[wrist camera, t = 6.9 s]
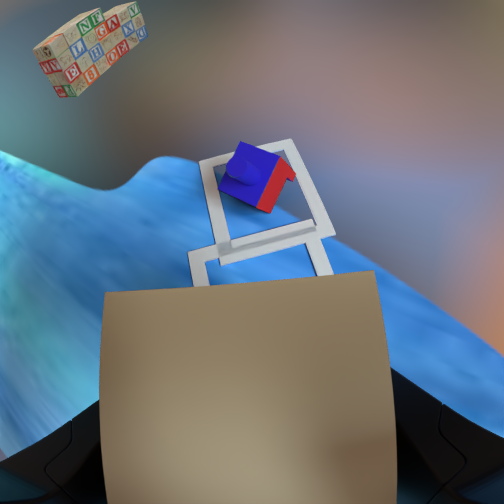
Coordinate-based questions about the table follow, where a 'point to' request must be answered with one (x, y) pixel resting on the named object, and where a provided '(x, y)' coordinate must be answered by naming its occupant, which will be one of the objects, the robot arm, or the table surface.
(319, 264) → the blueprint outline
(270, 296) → the beech pillar
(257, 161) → the toy building block
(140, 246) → the table surface
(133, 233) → the table surface
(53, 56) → the stack of blocks
